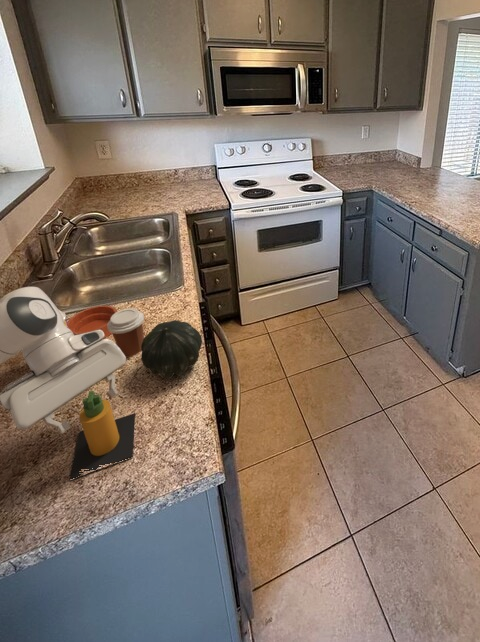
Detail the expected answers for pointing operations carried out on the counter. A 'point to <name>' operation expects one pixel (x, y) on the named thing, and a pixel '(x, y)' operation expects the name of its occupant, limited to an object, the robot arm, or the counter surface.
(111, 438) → the pineapple
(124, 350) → the coffee cup
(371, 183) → the counter surface
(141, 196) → the counter surface
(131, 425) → the mat
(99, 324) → the bowl
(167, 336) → the squash
